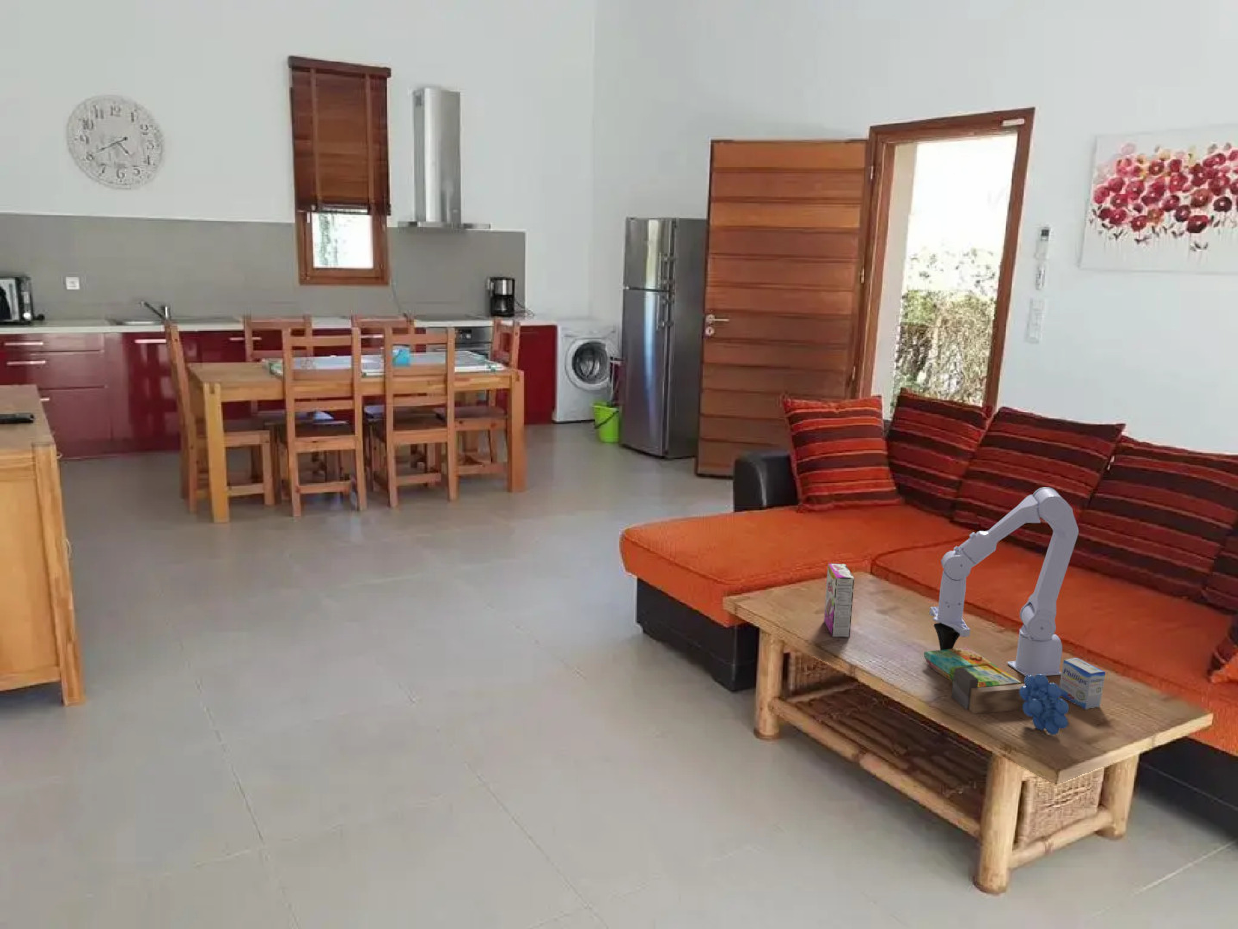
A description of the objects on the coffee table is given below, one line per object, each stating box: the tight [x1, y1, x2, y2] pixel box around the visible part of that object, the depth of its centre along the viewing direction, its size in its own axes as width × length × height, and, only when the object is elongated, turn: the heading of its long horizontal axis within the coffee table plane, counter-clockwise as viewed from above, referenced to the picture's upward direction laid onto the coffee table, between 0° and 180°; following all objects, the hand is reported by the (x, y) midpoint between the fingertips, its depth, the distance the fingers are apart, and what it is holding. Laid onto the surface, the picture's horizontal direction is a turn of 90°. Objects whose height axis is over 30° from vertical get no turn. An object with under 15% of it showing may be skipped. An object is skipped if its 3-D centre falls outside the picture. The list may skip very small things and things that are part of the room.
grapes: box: [1019, 674, 1070, 736], centre depth 200 cm, size 12×7×12 cm, turn 30°
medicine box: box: [1058, 657, 1106, 710], centre depth 215 cm, size 8×4×9 cm, turn 22°
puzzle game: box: [923, 646, 1023, 688], centre depth 224 cm, size 12×5×20 cm
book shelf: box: [951, 668, 1054, 715], centre depth 213 cm, size 20×8×7 cm, turn 103°
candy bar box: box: [823, 563, 855, 638], centre depth 251 cm, size 11×5×16 cm, turn 179°
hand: (945, 653), depth 235 cm, fingers closed
